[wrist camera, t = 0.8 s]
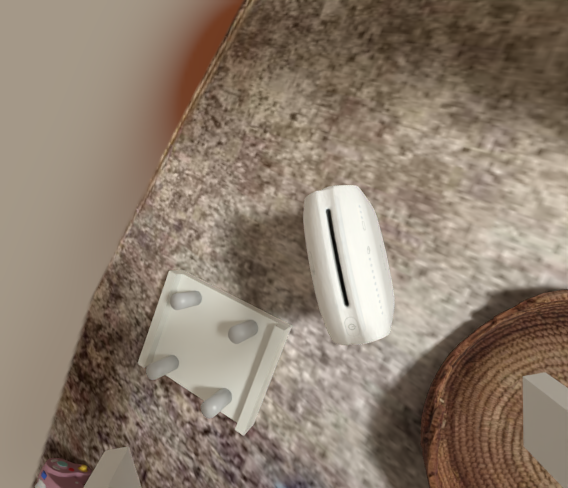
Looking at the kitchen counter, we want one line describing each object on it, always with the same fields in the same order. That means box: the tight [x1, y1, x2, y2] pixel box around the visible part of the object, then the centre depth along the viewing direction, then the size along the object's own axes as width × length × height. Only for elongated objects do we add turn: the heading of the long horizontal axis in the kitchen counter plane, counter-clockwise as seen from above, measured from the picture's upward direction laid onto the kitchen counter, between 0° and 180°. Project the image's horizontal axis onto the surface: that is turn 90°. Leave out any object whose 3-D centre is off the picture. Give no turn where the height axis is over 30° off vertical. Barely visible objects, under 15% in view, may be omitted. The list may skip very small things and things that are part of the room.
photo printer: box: [303, 185, 394, 345], centre depth 24 cm, size 10×4×12 cm, turn 11°
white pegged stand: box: [138, 270, 292, 436], centre depth 33 cm, size 14×11×4 cm
